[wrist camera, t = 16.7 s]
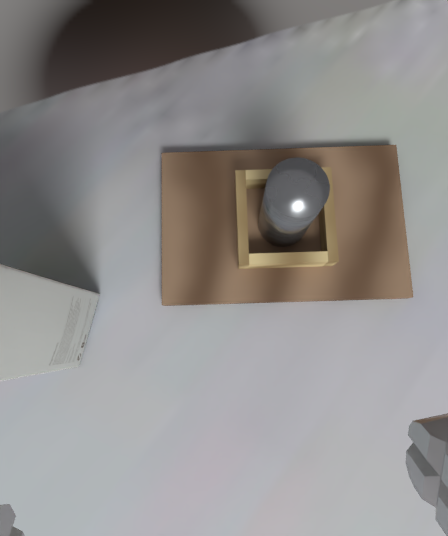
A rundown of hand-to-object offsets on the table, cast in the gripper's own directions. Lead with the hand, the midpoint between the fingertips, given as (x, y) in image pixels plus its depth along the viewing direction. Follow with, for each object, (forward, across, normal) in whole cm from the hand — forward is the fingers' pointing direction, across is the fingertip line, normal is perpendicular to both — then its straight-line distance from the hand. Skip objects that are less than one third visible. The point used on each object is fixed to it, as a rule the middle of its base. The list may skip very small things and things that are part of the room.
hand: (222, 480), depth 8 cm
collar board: (+26, -9, +4) cm, 28 cm away
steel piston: (+25, -9, +3) cm, 27 cm away
